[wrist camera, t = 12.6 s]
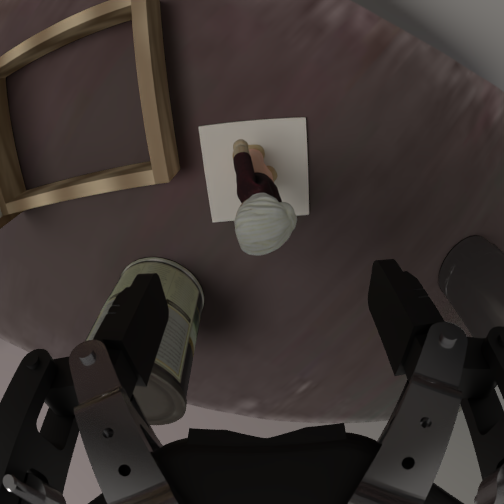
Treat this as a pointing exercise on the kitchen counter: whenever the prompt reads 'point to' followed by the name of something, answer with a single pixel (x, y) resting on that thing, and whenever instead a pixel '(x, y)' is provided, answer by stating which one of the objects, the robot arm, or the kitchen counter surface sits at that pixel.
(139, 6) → the cold frame
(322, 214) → the kitchen counter surface
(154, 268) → the coffee can
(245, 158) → the grandmother figurine
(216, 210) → the tile
